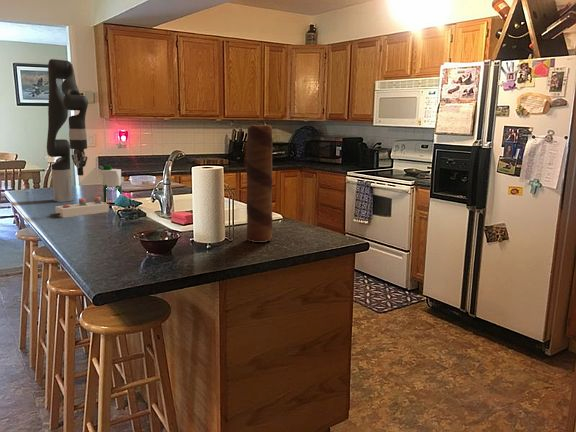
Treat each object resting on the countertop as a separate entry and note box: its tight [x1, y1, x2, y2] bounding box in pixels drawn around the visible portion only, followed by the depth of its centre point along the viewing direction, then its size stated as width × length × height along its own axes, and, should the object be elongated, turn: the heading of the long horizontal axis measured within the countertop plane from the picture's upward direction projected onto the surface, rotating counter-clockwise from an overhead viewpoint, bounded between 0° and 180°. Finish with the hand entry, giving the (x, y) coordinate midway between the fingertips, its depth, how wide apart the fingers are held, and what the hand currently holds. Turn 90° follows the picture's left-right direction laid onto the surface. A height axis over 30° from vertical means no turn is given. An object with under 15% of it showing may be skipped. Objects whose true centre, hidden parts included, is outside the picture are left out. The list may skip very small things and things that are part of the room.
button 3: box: [93, 196, 102, 203], centre depth 236 cm, size 3×3×3 cm
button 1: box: [62, 203, 71, 208], centre depth 226 cm, size 3×3×3 cm
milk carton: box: [101, 164, 123, 202], centre depth 259 cm, size 9×9×20 cm
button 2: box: [78, 198, 87, 205], centre depth 231 cm, size 3×3×3 cm
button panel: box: [49, 201, 110, 218], centre depth 230 cm, size 9×26×5 cm, turn 136°
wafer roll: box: [245, 124, 274, 241], centre depth 184 cm, size 10×11×45 cm
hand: (80, 175), depth 228 cm, fingers closed
